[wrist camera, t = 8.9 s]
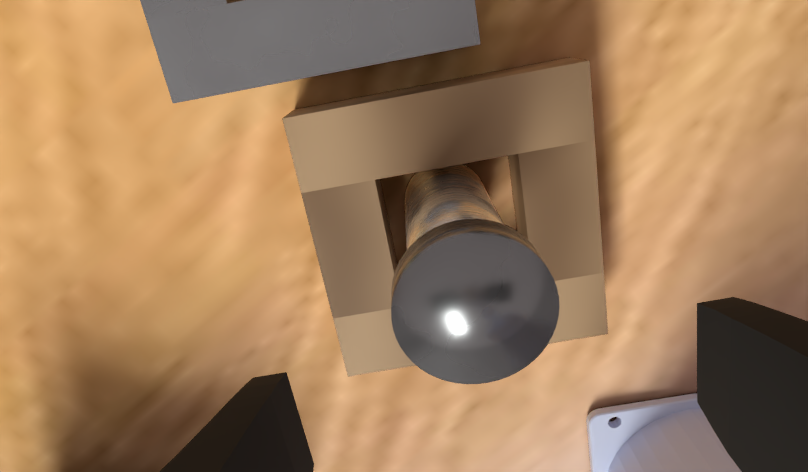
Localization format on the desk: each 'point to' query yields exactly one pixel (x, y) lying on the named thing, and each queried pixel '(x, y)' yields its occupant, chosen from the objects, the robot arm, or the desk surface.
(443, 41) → the mount
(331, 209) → the socket
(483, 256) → the lock pin
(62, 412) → the desk surface
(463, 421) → the desk surface
